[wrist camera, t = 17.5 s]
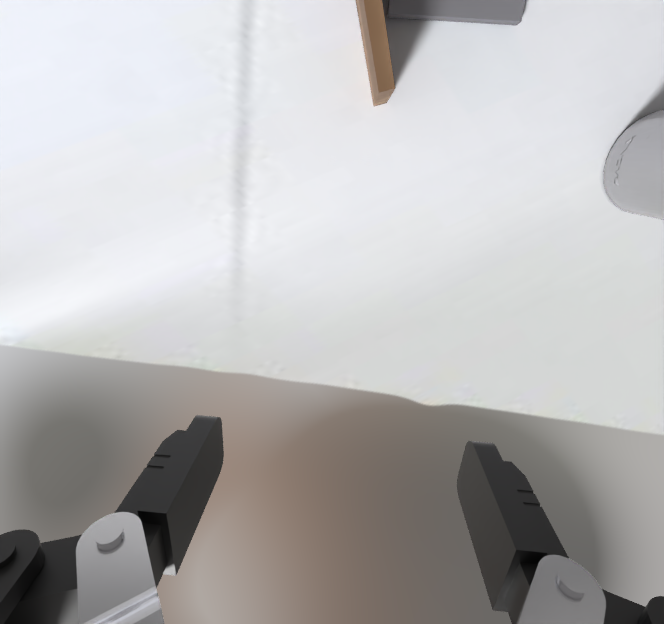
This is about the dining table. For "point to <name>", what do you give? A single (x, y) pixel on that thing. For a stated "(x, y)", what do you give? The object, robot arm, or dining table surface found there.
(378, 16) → the walnut screen
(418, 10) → the charcoal pad
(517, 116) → the dining table surface
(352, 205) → the dining table surface
